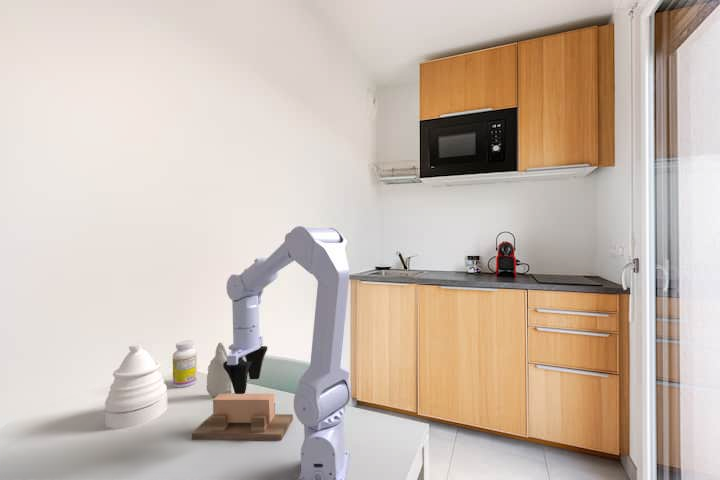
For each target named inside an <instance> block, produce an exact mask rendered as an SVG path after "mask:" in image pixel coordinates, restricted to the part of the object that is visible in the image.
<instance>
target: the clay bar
mask: <svg viewBox="0 0 720 480" xmlns="http://www.w3.org/2000/svg"><path fill="white" fill-rule="evenodd" d="M274 403H275V393H244V394H235V393H231V394H219V395H218V396H217V397H214V398H213V399H212V407H213V408H212V414H213V415H226V418H227V422H234V423H251V417H252V415H266V423H270V422H271V420H272V419H273V417H274V416H275V414H276V412H275V413H274Z"/></svg>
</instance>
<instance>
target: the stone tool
mask: <svg viewBox="0 0 720 480" xmlns="http://www.w3.org/2000/svg"><path fill="white" fill-rule="evenodd" d="M214 354H215V356H214V357H213V358H211V360H210V363H209V365H208V368H207V374H206V391H207V393H208V395H210V396H211V397H212V398H213V397H214V398H215V397H217V396H218V395H219V394H233V393H232V392H233V391H232V390H233V389H232V387H233V385H232V382H231V379H230V377H229V375H228V373H227V372H226V370H225V369H224V368H223V363H224V362H225V361H227V356H228V353H227V350H226V348H225V346H224V344H223V342H219V343H218V344H217V346H216V349H215V353H214Z"/></svg>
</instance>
